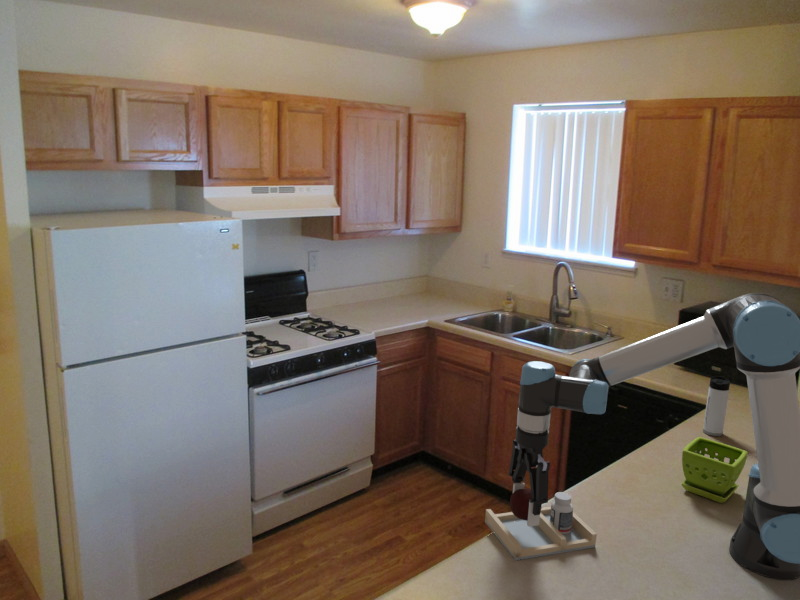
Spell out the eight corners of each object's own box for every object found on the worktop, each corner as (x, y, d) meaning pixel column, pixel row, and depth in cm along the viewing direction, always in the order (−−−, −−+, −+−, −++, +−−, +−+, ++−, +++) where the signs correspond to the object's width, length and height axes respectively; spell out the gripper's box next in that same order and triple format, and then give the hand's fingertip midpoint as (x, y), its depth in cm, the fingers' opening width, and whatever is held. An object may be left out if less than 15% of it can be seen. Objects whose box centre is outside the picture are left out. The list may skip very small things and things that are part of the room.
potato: (503, 512, 154) (505, 485, 152) (529, 507, 157) (532, 481, 155) (519, 528, 147) (522, 500, 146) (547, 522, 150) (549, 495, 149)
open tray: (595, 547, 150) (596, 533, 149) (515, 560, 143) (516, 546, 143) (558, 511, 165) (559, 499, 164) (485, 522, 159) (485, 509, 158)
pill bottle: (574, 528, 156) (578, 495, 154) (565, 537, 152) (568, 503, 150) (555, 520, 159) (558, 488, 158) (545, 528, 155) (548, 496, 154)
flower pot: (675, 490, 178) (680, 449, 176) (692, 475, 188) (697, 435, 186) (728, 509, 169) (735, 466, 166) (743, 492, 179) (749, 450, 177)
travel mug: (723, 431, 222) (731, 377, 218) (721, 438, 216) (729, 382, 212) (704, 427, 225) (711, 374, 221) (701, 433, 220) (709, 379, 216)
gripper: (570, 444, 139) (560, 537, 143) (526, 410, 158) (518, 493, 162) (540, 447, 137) (531, 541, 141) (499, 412, 155) (492, 497, 160)
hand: (524, 516), depth 152 cm, fingers closed on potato, 7 cm apart
